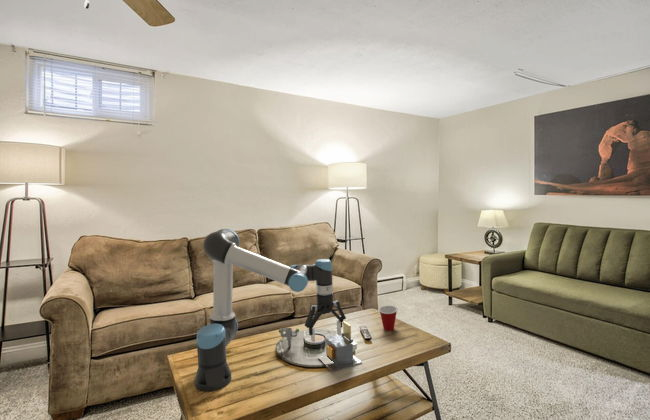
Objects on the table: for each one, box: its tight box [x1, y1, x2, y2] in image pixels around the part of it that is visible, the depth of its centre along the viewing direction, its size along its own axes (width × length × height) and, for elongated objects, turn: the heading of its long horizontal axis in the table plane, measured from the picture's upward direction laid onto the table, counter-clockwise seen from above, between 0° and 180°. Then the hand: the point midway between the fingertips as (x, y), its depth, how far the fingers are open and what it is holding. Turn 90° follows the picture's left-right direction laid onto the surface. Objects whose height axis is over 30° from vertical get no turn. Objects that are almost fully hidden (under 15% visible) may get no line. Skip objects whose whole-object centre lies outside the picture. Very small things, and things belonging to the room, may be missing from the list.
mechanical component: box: [278, 327, 300, 348], centre depth 177 cm, size 3×10×10 cm, turn 89°
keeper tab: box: [342, 320, 352, 340], centre depth 163 cm, size 7×6×1 cm
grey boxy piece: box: [321, 332, 363, 373], centre depth 162 cm, size 16×14×11 cm
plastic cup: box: [378, 305, 398, 332], centre depth 197 cm, size 11×11×12 cm
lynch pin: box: [327, 341, 358, 359], centre depth 163 cm, size 14×5×5 cm, turn 116°
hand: (326, 337), depth 159 cm, fingers open, 13 cm apart
